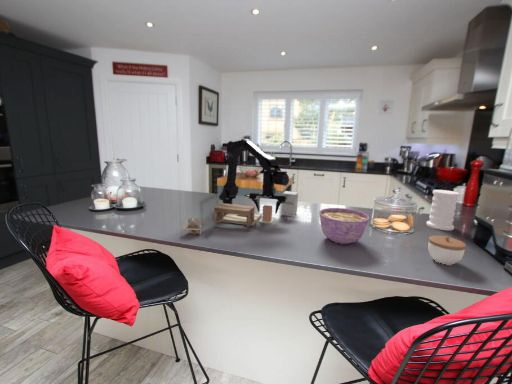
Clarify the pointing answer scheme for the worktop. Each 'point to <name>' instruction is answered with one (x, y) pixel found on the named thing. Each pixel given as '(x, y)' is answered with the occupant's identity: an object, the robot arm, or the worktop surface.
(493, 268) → the worktop surface
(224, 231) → the worktop surface
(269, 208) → the block
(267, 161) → the robot arm
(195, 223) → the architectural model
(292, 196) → the supplement box
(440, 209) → the decorative container
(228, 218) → the board
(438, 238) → the lidded jar
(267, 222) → the tile
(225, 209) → the brown wooden u-shape
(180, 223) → the worktop surface
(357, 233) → the bowl of food
